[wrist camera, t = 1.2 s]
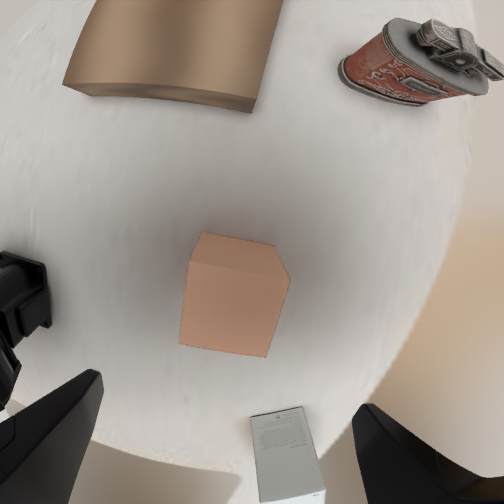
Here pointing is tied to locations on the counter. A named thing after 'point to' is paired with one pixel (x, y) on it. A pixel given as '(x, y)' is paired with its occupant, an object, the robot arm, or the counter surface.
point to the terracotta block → (232, 295)
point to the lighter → (420, 64)
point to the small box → (286, 459)
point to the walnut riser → (175, 50)
